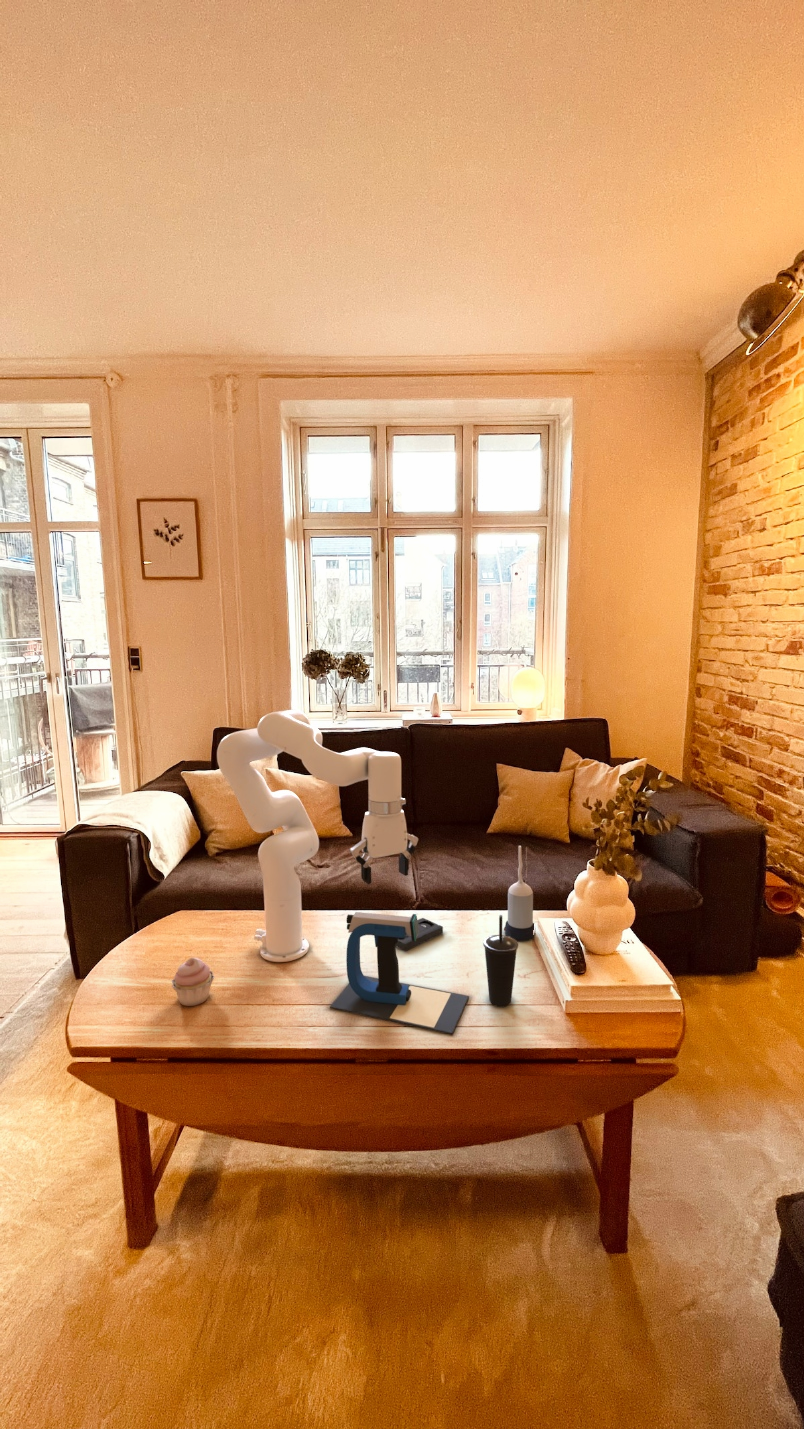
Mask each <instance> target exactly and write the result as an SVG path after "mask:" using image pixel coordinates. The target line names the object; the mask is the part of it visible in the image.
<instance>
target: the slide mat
mask: <svg viewBox="0 0 804 1429" xmlns="http://www.w3.org/2000/svg"><path fill="white" fill-rule="evenodd" d="M364 976H365V978H367V979H368V980H370V981H372V982H377V983H379V981H378V977H373V976H367V975H364ZM399 983H400V984H401V985H405V986H409V990H411V997H410V1000H409V1001H406V1004H405V1005H396V1004H387V1003H378V1002H370V1001H366V1000H364V999H362V998H361V997H359V996H358V995H357V994H356V993H355V992H354V991H353V989H352V988H351V986H350V984H349V983H348V984H347V985H346V986H345V987H344V988H343V990H342V991H341V992H340V994H339V995H338V996H337V997H336V998H335V999H334V1001H333V1002H332V1003H331V1004H330V1006H329V1009H332V1010H337V1011H341V1012H346V1013H351V1014H355V1015H360V1016H364V1017H370V1018H374V1019H378V1020H382V1021H387V1022H392V1023H395V1024H401V1025H404V1026H405V1025H406V1026H410V1027H415V1028H421V1029H424V1030H429V1031H433V1032H438V1033H443V1034H446V1035H453V1034H454V1031H455V1029H456V1027H457V1025H458V1022H459V1021H460V1019H461V1016H462V1013H463V1012H464V1009H465V1008H466V1004H467V1002H468V1000H469V998H470V996H469V995H467V994H462V993H455V992H452V991H447V990H442V989H441V990H440V989H435V988H431V987H425V986H420V985H414V984H408V983H404V982H399Z"/></svg>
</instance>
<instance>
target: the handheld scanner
mask: <svg viewBox="0 0 804 1429" xmlns="http://www.w3.org/2000/svg"><path fill="white" fill-rule="evenodd" d="M417 920H418V915H417V914H416V913H413V914H412V915H411V916H406V915H394V914H383V913H371V912H362V911H361V912H359V911H355V912H354V914H347V916H346V923H347V924H346V930H348V932H347V933H348V934H349V933H350V934H349V937H348V939H347V945H346V974H347V975H346V976H347V980H348V984H350V986H351V988H352V989H353V991H354V992H355V993H356V994H357V995H358V996H359V997H361V998H362V999H364V1000H366V1001H370V1002H378V1003H387V1004H396V1005H405V1004H406V1001H409V1000H410V997H411V990H409V986H405V985H401V984H400V983H401V982H400V968H399V959H398V955H397V947H396V944H397V941H398V938H405V936H406V933H408V934H409V935H411V938H412V941H416V938H417V935H418V933H419V929H418V922H417ZM364 936H373V938H374V945H375V948H376V960H377V962H376V963H377V978H378V981H379V983H377V982H372V981H370V980H368V979H367V978H365V976H366V975H364V973H363V971H362V966H361V938H362V937H364Z"/></svg>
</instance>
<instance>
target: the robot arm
mask: <svg viewBox="0 0 804 1429" xmlns="http://www.w3.org/2000/svg"><path fill="white" fill-rule="evenodd" d="M283 752H284V753H287V754H288V755H291V756H293V757H295V758H297V759H299V760H301V763H302V765H303V766H304V768H305V769H306V770H307V771H308V772H309V773H310V775H313V777H315V778H317V779H319V780H321V781H324V782H325V783H328V784H330V785H332V786H336V787H347V786H350V785H353V784H355V783H358V782H363V781H366V780H367V782H368V783H367V784H368V789H367V790H368V811H365V813H364V818H363V822H362V827H361V828H362V830H361V840H360V841H359V842H357V843H356V844H355V845H353V846H352V847H351V848H350V849H349V852H350V853H351V855H352V857H353V859H354V860H355V862H357V863H359V864H360V877H361V880H362V881H363V882H365V883H366V884H367V885H371V884H372V867H371V866H370V865H371V863H372V862H373V861H374V859H377V858H382V857H383V858H384V857H388V856H394V855H397V854H400V855H398V873H400V874H402V875H403V876H406V877H407V876H408V875H409V870H410V859H411V858H412V854H413V853H414V851H415V850H416V847H417V844H418V842H419V838H418V836H415V835H414V834H410V833H409V832H408V828H407V820H406V816H405V812H404V810H403V805H406V803H407V799H406V798H403V797H402V758H401V756H400V754H398V753H396V752H392V751H379V750H375V749H372V748H368V747H358V748H355V749H350V750H347V751H343V752H336V751H333V750H330V749H329V748H326V747H324V746H323V734H322V731H321V730H320V729H318V728H317V727H315V726H312V725H311V722H310V719H309V718H308V716H307V714H306V713H304V712H302V711H301V710H299V709H286V710H279V711H272V712H269V713H267V714H265V715H264V716H262V717H261V718H260V720H259V721H258V723H257V727H255V728H251V729H243V730H238V731H234V732H232V733H230V734H227V735H226V736H224V737H223V738H222V739H221V740H220V742H219V744H218V747H217V750H216V760H217V765H218V767H219V770H220V772H221V774H222V776H223V778H224V779H225V780H226V782H227V783H228V785H229V787H230V788H231V789H232V791H233V793H234V796H235V798H236V800H237V802H238V804H239V806H240V809H241V811H242V812H243V815H244V817H245V820H246V821H247V823H248V825H249V826H250V828H251V829H252V830H253V831H254V832H256V833H258V834H265V833H268V832H272V831H274V830H277V829H279V828H282V831H280V832H277V833H275V834H272V835H271V836H268V837H267V838H266V839H265V840H263V841H262V843H261V844H260V846H259V848H258V852H257V858H258V863H259V867H260V870H261V876H262V884H263V886H262V887H263V903H264V928H265V929H260V928H256V930H255V932H254V938H253V940H254V941H257V942H261V943H262V944H261V946H260V948H259V953H260V956H261V957H262V959H264V960H266V961H268V962H273V963H285V962H291V961H295V960H298V959H300V958H302V957H304V956H305V955H306V954H307V953H308V951H309V950H310V944H309V941H308V940H307V939H306V938H305V937H303V912H302V911H303V906H302V886H301V885H302V884H301V881H300V878H299V875H298V874H297V872H296V871H295V867H296V866H298V865H299V864H302V863H304V862H305V861H307V860H310V859H312V858H313V857H315V856H316V854H317V853H318V851H319V848H320V839H319V836H318V834H317V831H316V829H315V826H314V824H313V822H312V821H311V818H310V816H309V814H308V813H307V810H306V808H305V806H304V804H303V803H302V801H301V799H300V798H299V796H298V795H297V794H296V793H294V792H293V791H292V790H289V789H279V790H276V791H271V789H270V788H269V786H268V784H267V782H266V779H265V778H264V776H263V774H261V773H260V772H259V770H258V769H256V768H255V767H254V766H252V765H251V763H252V762H256V761H260V760H263V759H264V760H265V759H269V758H272V757H275V756H277V755H279V754H282V753H283ZM408 841H409V843H408ZM360 851H361V852H362V853H363V854H362V855H361V854H360Z"/></svg>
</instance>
